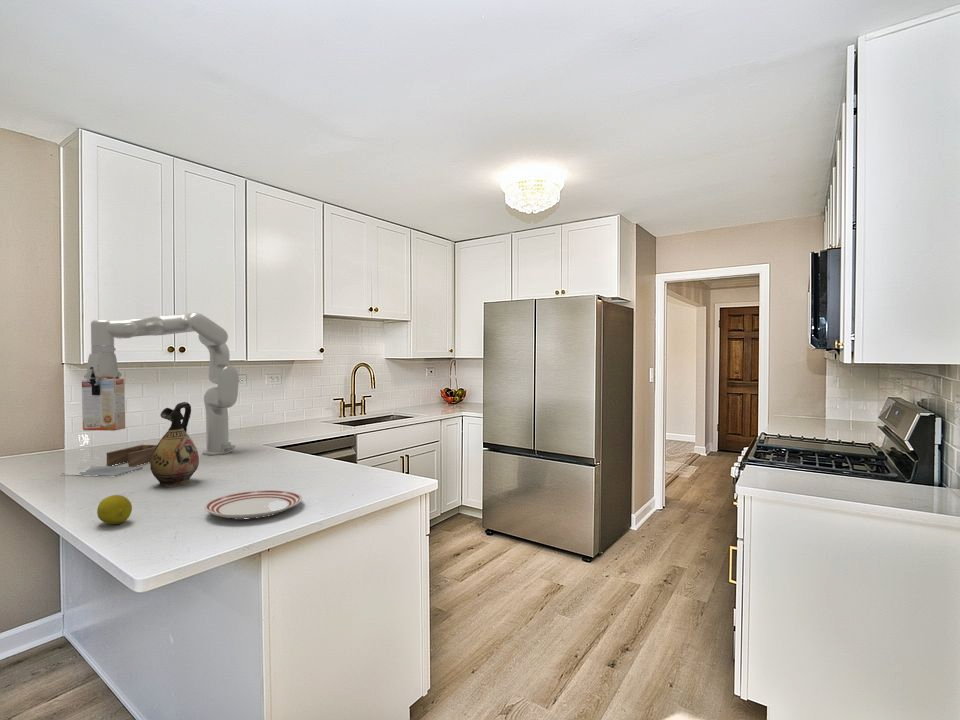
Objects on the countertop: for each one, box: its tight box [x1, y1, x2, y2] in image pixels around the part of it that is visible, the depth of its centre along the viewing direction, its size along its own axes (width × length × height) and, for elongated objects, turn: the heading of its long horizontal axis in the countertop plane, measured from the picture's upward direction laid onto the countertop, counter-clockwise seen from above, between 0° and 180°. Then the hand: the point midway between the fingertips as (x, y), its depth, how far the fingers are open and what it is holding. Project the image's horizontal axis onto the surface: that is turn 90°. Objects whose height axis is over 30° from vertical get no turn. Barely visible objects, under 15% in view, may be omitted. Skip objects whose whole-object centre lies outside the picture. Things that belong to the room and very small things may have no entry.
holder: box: [106, 444, 158, 467], centre depth 221 cm, size 11×19×6 cm, turn 172°
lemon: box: [96, 494, 133, 525], centre depth 143 cm, size 11×8×8 cm
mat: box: [79, 465, 144, 477], centre depth 204 cm, size 24×14×1 cm, turn 82°
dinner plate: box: [203, 489, 303, 520], centre depth 155 cm, size 27×27×3 cm
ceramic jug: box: [149, 401, 200, 488], centre depth 187 cm, size 17×15×30 cm
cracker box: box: [81, 378, 126, 432], centre depth 205 cm, size 14×6×21 cm, turn 86°
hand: (103, 394), depth 205 cm, fingers closed on cracker box, 6 cm apart
